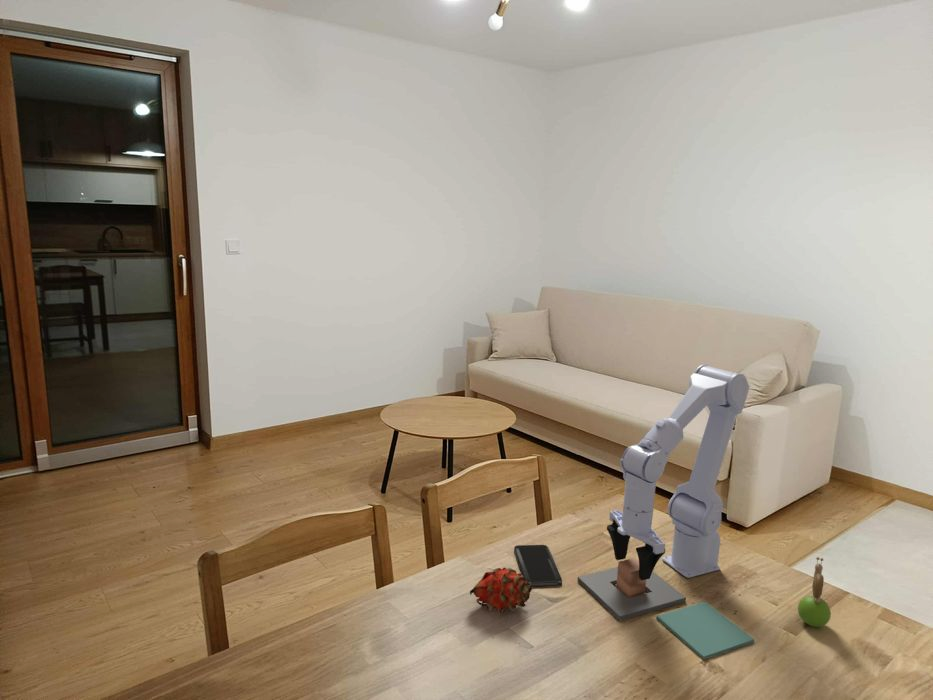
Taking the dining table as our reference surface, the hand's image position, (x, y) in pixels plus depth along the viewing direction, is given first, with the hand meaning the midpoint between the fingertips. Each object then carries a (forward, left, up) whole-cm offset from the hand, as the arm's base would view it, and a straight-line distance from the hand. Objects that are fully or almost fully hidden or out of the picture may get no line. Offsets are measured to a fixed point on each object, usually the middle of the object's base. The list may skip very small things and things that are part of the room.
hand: (632, 568), depth 126 cm
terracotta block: (0, 0, -5) cm, 5 cm away
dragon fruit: (+27, -5, -5) cm, 28 cm away
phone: (+13, -15, -6) cm, 21 cm away
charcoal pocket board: (0, 0, -5) cm, 5 cm away
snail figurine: (-26, +21, -5) cm, 34 cm away
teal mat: (-5, +15, -5) cm, 17 cm away
